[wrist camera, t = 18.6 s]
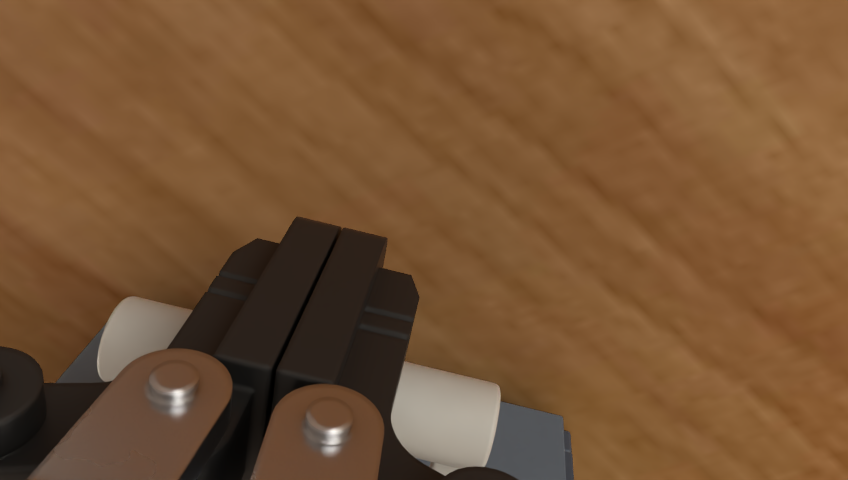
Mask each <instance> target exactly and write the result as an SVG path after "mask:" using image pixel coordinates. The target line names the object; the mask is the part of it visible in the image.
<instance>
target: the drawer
mask: <svg viewBox="0 0 848 480" xmlns="http://www.w3.org/2000/svg"><path fill="white" fill-rule="evenodd" d="M192 311H193V310H190V309H186V308H182V307H178V306H174V305H169V304H165V303H161V302H157V301H153V300H149V299H145V298H140V297H136V296H132V297H127V298H125V299H123V300H122V301H121V302H120V303H119V304H118V305H117V307H116V308H115V309H114V311H113V312H112V314H111V316H110V318H109V320H108V322H107V323H106V324H105V325H104V327H103V328H102V329H101V330H100V331H99V332H98V334H97V335H96V336H95V337H94V338H93V339H92V341H91V342H90V343H89V344H88V345H87V346H86V348H85V349H84V350H83V351H82V352H81V353H80V355H79V356H78V357H77V358H76V359H75V360H74V362H73V363H72V364H71V365H70V366H69V367H68V369H67V370H66V371H65V372H64V373H63V374H62V376H61V377H60V378H59V379H58V380H57V381H56V383H98V382H107V381H113V380H114V379H115V378H116V376H117V375H118V374H119V373H120V372H121V371H122V370H123V369H124V368H125V367H126V366H127V365H128V364H129V363H131V362H132V361H134V360H135V359H137V358H139V357H141V356H143V355H145V354H148V353H151V352H154V351H159V350H163V349H167V348H168V346H169V345H170V343H171V342H172V340H173V339H174V337H175V336H176V335H177V333H178V332H179V330H180V329H181V327H182V326H183V324H184V323H185V321H186V320H187V319H188V317H189V316H190V314H191V313H192ZM500 399H501V394H500V387H499V386H498V385H497V384H496V383H493V382H488V381H484V380H480V379H476V378H472V377H468V376H464V375H459V374H455V373H451V372H447V371H443V370H439V369H435V368H430V367H426V366H422V365H418V364H414V363H410V362H406V361H404V365H403V369H402V373H401V377H400V381H399V385H398V389H397V393H396V397H395V401H394V405H393V409H392V413H391V423H392V427H393V430H394V432H395V434H396V437H397V438H398V440H399V441H400V443H401V444H402V446H403V447H404V448H405V449H406V450H407V451H408V452H409V453H410V454H411V455H412V456H414V457H415V458H416V459H417V460H419V461H420V462H422V463H423V464H425V465H427V466H428V467H430V468H432V469H434V470H436V471H437V472H439V473H441V474H443V475H445V476H446V475H447V474H449V473H450V472H453V471H455V470H457V469H461V468H465V467H474V466H478V467H488V468H493V469H497V470H500V471H503V472H505V473H507V474H509V475H511V476H513V477H515V478H517V479H518V480H566V469H565V448H564V427H563V417H562V416H559V415H555V414H551V413H547V412H543V411H539V410H535V409H530V408H526V407H522V406H518V405H514V404H510V403H506V402H501V401H500Z"/></svg>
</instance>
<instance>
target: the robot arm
mask: <svg viewBox="0 0 848 480" xmlns="http://www.w3.org/2000/svg"><path fill="white" fill-rule="evenodd" d="M386 247H387V238H386V237H381V236H377V235H373V234H369V233H365V232H361V231H356V230H352V229H348V228H343V229H341V227H339V226H335V225H331V224H327V223H322V222H318V221H314V220H310V219H306V218H302V217H296V218H295V219H294V221H293V222H292V224H291V226H290V227H289V229H288V231H287V232H286V234H285V236H284V237H283V239H282V241H281V243H280V244H279V243H275V242H270V241H266V240H262V239H258V238H257V239H255V240H254V241H252V242H250V243H248V244H247V245H245V246H243V247H241V248H240V249H238V250H236V251H234V252H233V253H232V254H231V256H230V257H229V259H228V260H227V262H226V263H225V265H224V266H223V268H222V269H221V271H220V273H219V276H216V278H215V279H214V281H213V282H212V284H211V285H210V287H209V289H208V292H205V294H204V295H203V297H202V298H201V300H200V301H199V303H198V304H197V305H196V307H195V308H194V310H193V311H192V313H191V314H190V316H189V317H188V319H187V320H186V321H185V323H184V324H183V326H182V327H181V329H180V330H179V332H178V333H177V335H176V336H175V337H174V339H173V340H172V342H171V343H170V345H169V346H168V348H167V349H163V350H159V351H154V352H151V353H148V354H145V355H143V356H141V357H139V358H137V359H135V360H134V361H132V362H131V363H129V364H128V365H127V366H126V367H125V368H124V369H123V370H122V371H121V372H120V373H119V374H118V375H117V376H116V378H115V379H114V380H113V381H107V382H98V383H44V380H43V373H42V370H41V368H40V366H39V364H38V363H37V362H36V361H35V360H34V359H33V358H32V357H31V356H29V355H28V354H26V353H24V352H21V351H19V350H16V349H12V348H7V347H1V346H0V480H518V479H517V478H515V477H513V476H511V475H509V474H507V473H505V472H503V471H500V470H497V469H493V468H488V467H478V466H474V467H465V468H461V469H457V470H455V471H453V472H450V473H449V474H447V475H446V476H445V475H443V474H441V473H439V472H437V471H436V470H434V469H432V468H430V467H428V466H427V465H425V464H423V463H422V462H420V461H419V460H417V459H416V458H415V457H414V456H412V455H411V454H410V453H409V452H408V451H407V450H406V449H405V448H404V447H403V446H402V444H401V443H400V441H399V440H398V438H397V437H396V434H395V432H394V430H393V427H392V423H391V413H392V409H393V405H394V401H395V397H396V393H397V389H398V385H399V381H400V377H401V373H402V369H403V365H404V360H405V356H406V352H407V348H408V343H409V339H410V335H411V331H412V326H413V322H414V318H415V314H416V309H417V305H418V301H419V295H418V292H417V289H416V287H415V284H414V281H413V278H412V276H411V275H408V274H404V273H400V272H396V271H392V270H387V269H383V263H384V258H385V253H386Z"/></svg>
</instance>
